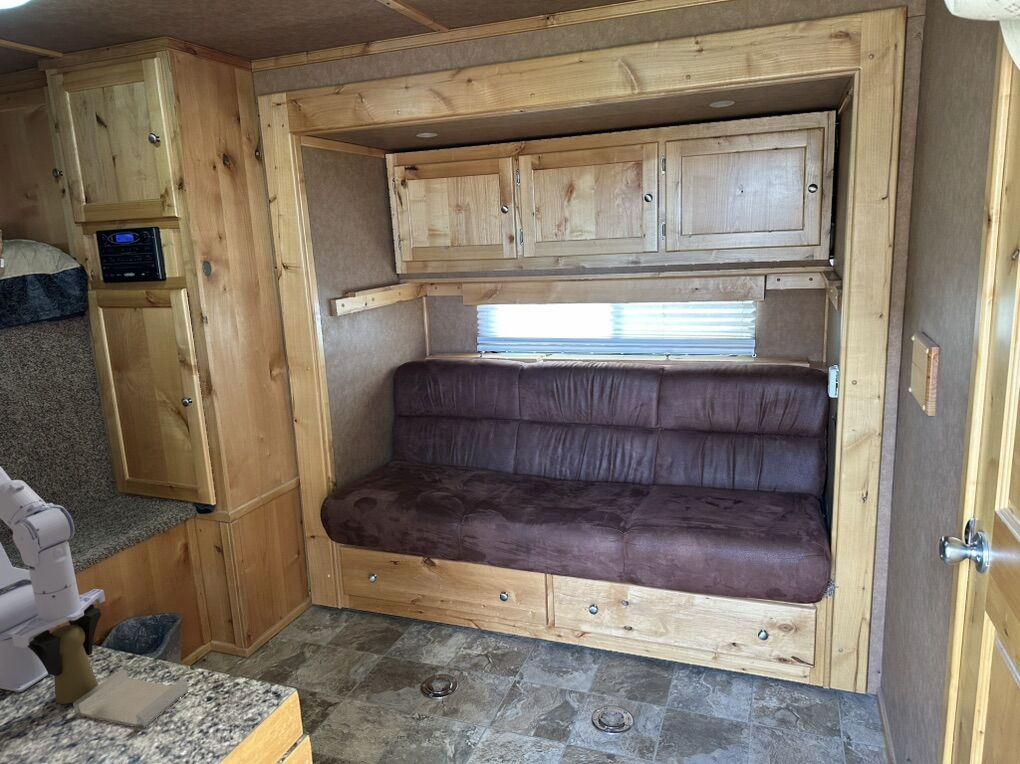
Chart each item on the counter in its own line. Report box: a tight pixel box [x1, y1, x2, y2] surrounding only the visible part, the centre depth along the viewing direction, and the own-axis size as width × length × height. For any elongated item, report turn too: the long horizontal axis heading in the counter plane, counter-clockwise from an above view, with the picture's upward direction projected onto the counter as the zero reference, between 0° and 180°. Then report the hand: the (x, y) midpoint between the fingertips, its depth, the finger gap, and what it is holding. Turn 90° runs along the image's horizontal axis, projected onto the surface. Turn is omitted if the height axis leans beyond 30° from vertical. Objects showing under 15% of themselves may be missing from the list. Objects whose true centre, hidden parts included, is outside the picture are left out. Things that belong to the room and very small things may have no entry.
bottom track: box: [72, 669, 190, 729], centre depth 113 cm, size 14×9×2 cm, turn 71°
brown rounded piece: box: [51, 624, 99, 705], centre depth 115 cm, size 6×6×11 cm
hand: (70, 663), depth 115 cm, fingers closed on brown rounded piece, 5 cm apart
